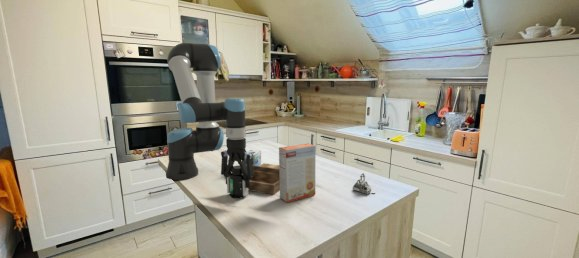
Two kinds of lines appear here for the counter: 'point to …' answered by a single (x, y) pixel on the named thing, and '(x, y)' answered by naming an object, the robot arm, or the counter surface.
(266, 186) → the brown wooden drawer
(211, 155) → the counter surface
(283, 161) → the cracker box
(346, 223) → the counter surface
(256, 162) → the light bulb box
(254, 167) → the lid
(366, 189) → the grey lumpy piece
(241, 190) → the supplement bottle
